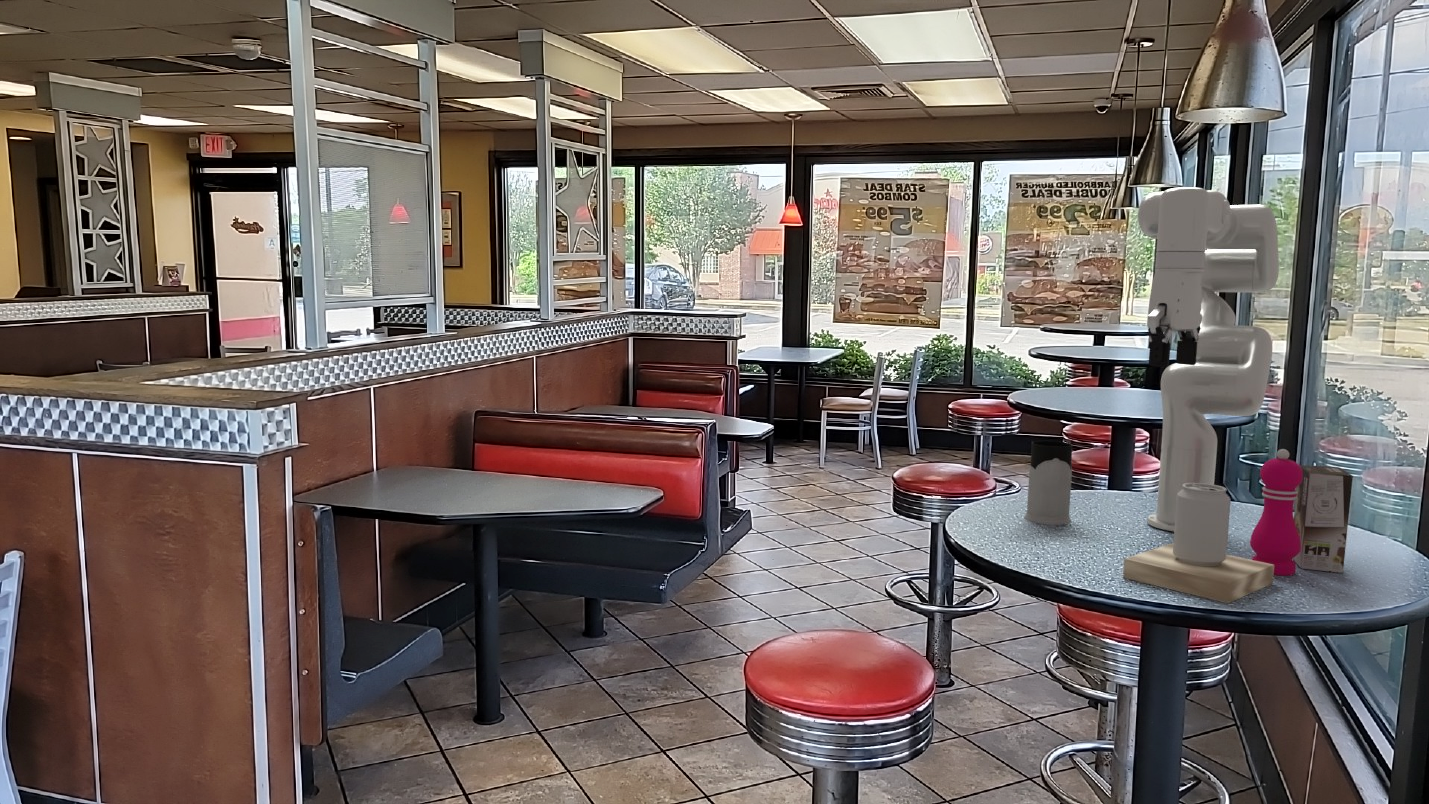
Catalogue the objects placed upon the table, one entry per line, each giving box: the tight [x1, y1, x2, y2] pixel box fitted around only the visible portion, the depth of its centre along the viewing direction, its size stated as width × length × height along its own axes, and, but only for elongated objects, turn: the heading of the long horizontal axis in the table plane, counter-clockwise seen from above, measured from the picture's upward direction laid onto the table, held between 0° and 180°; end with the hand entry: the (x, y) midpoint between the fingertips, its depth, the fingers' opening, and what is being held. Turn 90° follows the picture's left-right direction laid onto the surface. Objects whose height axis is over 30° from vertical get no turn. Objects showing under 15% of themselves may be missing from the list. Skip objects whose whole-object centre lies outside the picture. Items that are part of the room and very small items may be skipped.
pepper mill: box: [1249, 448, 1303, 577], centre depth 163 cm, size 7×7×20 cm
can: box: [1173, 483, 1231, 566], centre depth 157 cm, size 8×8×12 cm
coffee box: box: [1292, 464, 1354, 574], centre depth 167 cm, size 9×6×16 cm
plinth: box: [1122, 542, 1275, 604], centre depth 157 cm, size 16×16×3 cm
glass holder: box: [1024, 440, 1073, 526], centre depth 199 cm, size 9×14×15 cm, turn 174°
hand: (1172, 365), depth 170 cm, fingers open, 9 cm apart
